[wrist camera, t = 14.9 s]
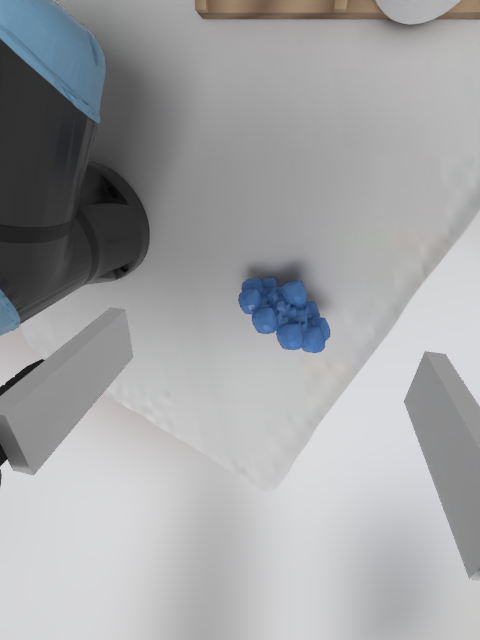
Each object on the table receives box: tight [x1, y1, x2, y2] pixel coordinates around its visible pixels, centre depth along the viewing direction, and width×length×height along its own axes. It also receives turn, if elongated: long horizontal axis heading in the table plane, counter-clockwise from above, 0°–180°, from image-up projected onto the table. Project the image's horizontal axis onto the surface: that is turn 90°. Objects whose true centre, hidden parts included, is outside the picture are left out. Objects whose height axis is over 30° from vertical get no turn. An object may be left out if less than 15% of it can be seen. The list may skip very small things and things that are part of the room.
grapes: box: [238, 278, 330, 353], centre depth 35 cm, size 12×7×12 cm, turn 68°
